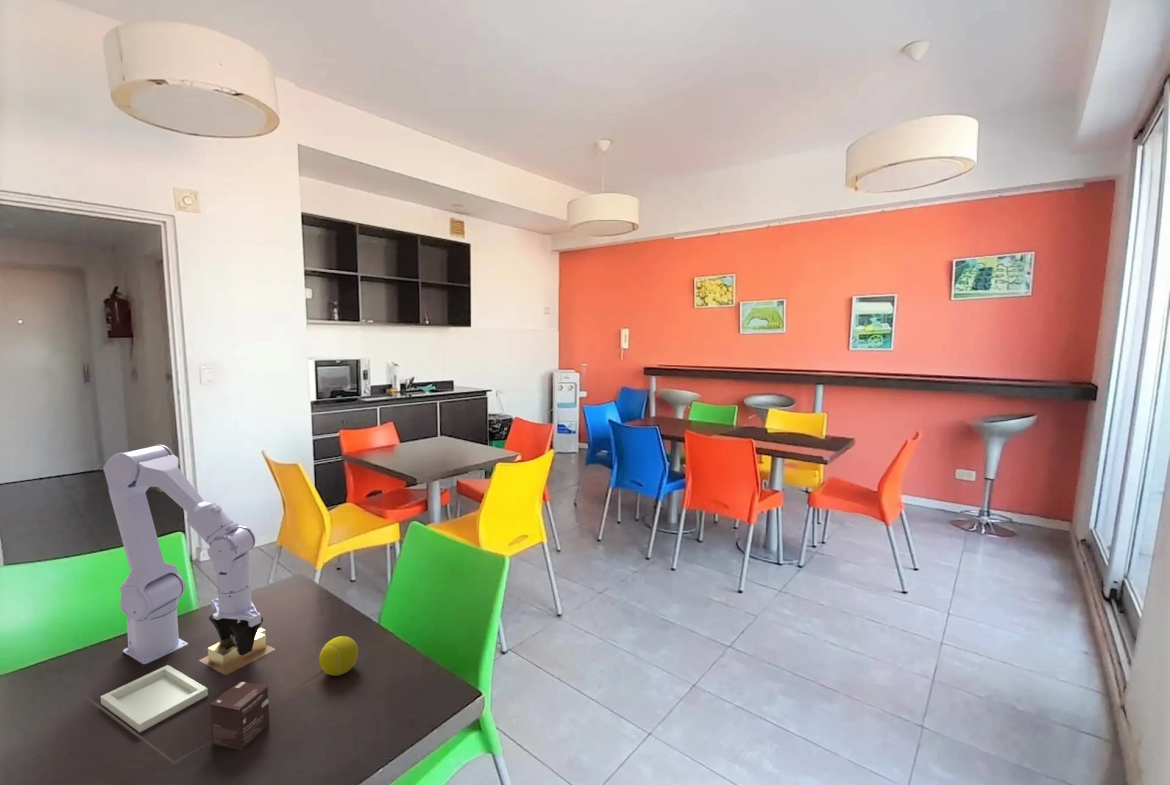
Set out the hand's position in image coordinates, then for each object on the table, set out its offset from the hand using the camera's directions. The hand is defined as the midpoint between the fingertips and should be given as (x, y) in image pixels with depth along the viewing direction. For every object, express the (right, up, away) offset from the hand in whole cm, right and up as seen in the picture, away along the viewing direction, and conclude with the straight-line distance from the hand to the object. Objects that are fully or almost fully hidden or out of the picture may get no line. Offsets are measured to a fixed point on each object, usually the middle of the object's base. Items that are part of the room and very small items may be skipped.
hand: (237, 648), depth 108 cm
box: (+15, -5, -21) cm, 26 cm away
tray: (-6, -3, -14) cm, 15 cm away
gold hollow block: (0, -1, 0) cm, 1 cm away
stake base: (0, -2, 0) cm, 2 cm away
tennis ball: (+24, -3, -4) cm, 24 cm away
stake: (0, -2, 0) cm, 2 cm away
